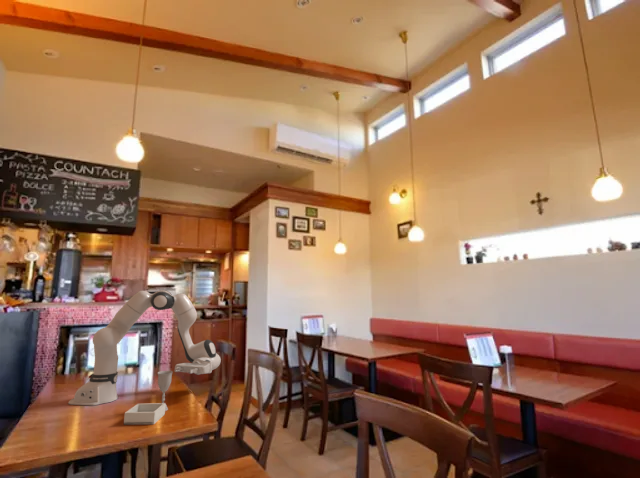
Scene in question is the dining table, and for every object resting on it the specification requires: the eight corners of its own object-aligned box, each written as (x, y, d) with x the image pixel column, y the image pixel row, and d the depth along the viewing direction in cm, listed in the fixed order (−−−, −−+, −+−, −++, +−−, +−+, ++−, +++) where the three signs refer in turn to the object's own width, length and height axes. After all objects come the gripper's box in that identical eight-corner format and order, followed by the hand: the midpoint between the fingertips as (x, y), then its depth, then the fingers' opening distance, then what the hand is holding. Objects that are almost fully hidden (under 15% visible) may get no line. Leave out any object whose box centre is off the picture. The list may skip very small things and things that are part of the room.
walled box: (123, 424, 153) (124, 412, 154) (137, 414, 166) (138, 403, 167) (153, 424, 154) (154, 412, 155) (164, 414, 167) (165, 403, 167)
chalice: (154, 413, 168) (157, 374, 171) (154, 408, 174) (157, 371, 177) (170, 410, 172) (173, 372, 174) (169, 406, 178) (172, 370, 180)
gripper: (185, 359, 204) (167, 363, 191) (214, 361, 197) (198, 366, 184) (184, 370, 203) (167, 375, 190) (213, 373, 196) (197, 378, 183)
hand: (182, 371), depth 187 cm, fingers open, 8 cm apart
